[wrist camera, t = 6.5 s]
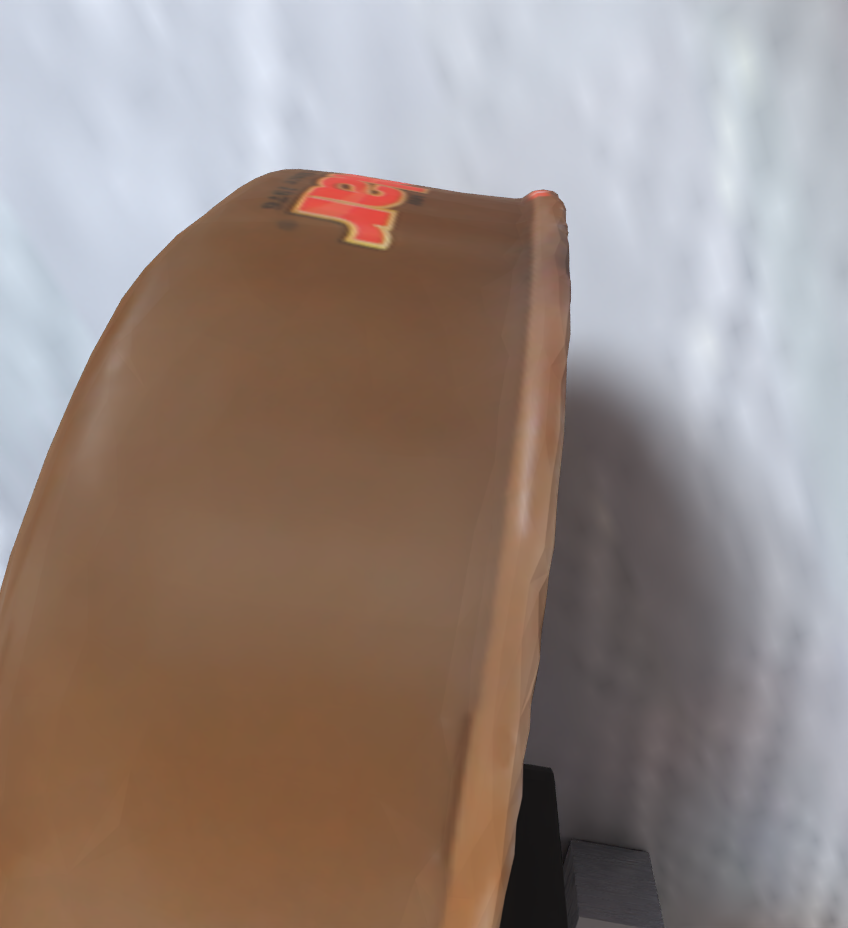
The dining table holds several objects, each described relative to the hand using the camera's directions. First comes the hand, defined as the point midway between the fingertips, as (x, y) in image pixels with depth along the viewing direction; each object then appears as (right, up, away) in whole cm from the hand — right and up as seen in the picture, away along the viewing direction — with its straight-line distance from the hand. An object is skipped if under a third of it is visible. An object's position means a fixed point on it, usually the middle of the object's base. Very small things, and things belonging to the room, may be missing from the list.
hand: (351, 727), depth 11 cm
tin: (0, +1, +2) cm, 2 cm away
